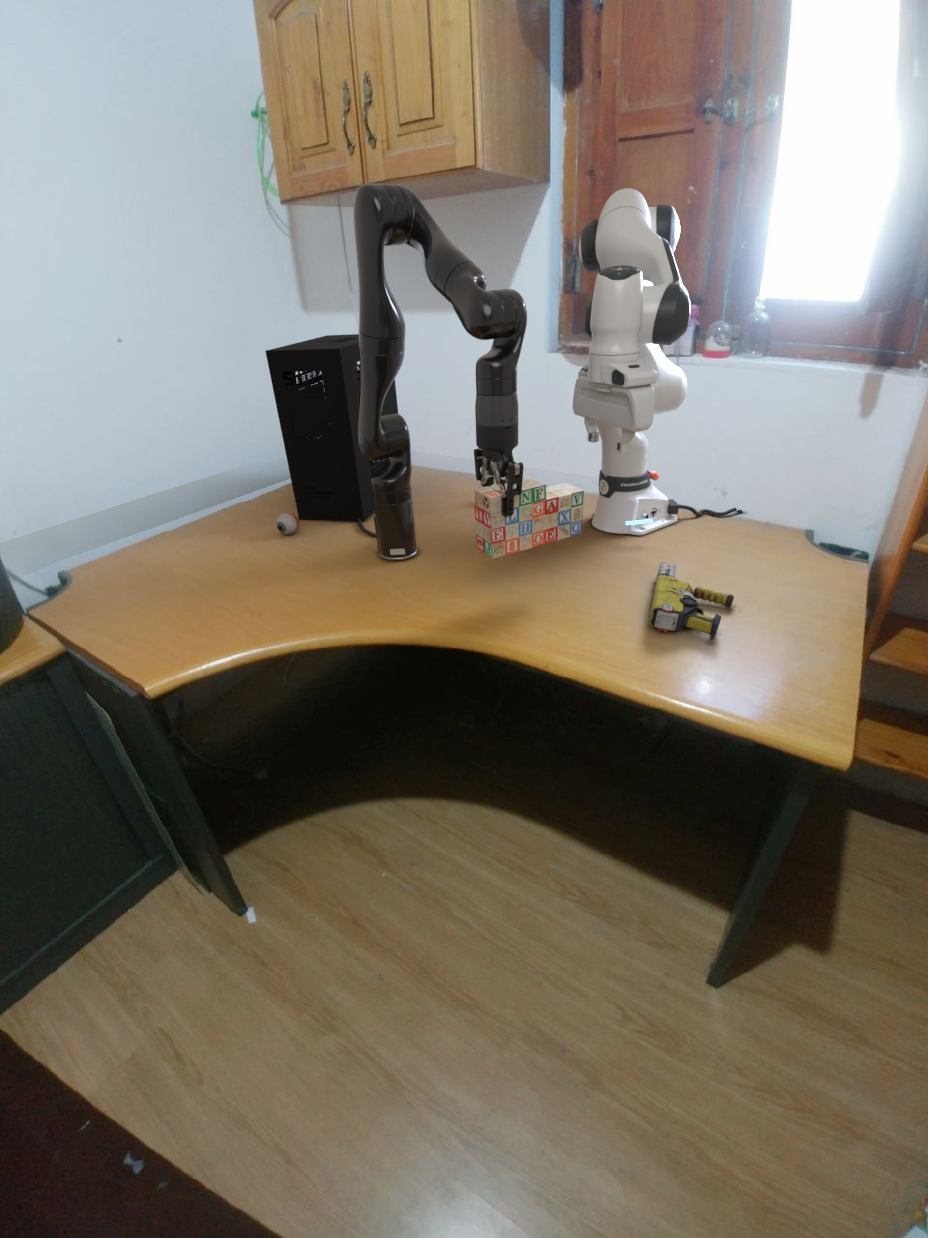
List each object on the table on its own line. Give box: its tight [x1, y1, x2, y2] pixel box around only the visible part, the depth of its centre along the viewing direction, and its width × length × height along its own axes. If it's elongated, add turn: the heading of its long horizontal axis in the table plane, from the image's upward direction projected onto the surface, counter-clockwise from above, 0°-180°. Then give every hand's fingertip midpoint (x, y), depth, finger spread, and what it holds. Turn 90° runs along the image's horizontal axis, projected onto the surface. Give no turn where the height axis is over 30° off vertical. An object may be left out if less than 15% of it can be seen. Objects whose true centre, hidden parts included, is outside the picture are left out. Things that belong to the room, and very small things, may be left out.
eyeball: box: [275, 511, 300, 536], centre depth 163 cm, size 6×6×6 cm
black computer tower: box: [265, 333, 399, 522], centre depth 177 cm, size 38×20×45 cm, turn 167°
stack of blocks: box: [474, 476, 585, 559], centre depth 118 cm, size 21×6×12 cm, turn 118°
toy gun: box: [648, 561, 735, 640], centre depth 118 cm, size 5×24×15 cm
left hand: (498, 509), depth 114 cm, fingers closed on stack of blocks, 6 cm apart
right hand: (607, 446), depth 116 cm, fingers open, 8 cm apart
